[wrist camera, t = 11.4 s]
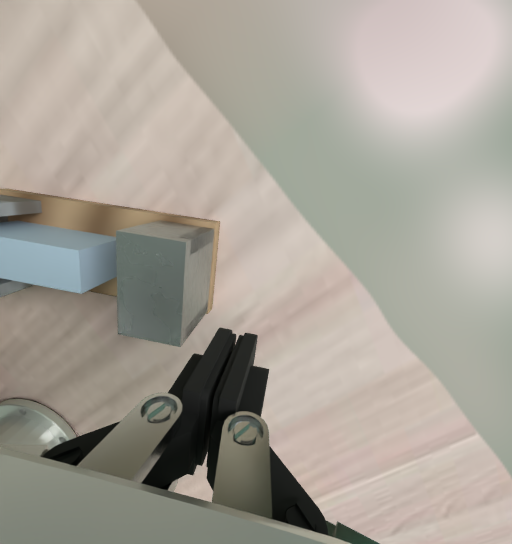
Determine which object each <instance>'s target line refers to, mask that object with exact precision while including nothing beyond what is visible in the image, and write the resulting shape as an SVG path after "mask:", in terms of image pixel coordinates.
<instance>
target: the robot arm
mask: <svg viewBox="0 0 512 544" xmlns="http://www.w3.org/2000/svg"><path fill="white" fill-rule="evenodd" d="M257 336H258V335H255V334H250V333H245V334H244V336H242V335H239V338H238V340H237V342H236V334H232V330H229V329H224V328H219V329H218V331H217V333H216V334H215V336H214V338H213V339H212V341H211V343H210V344H209V346H208V348H207V349H206V351H205V353H204V355H199V354H193V355H192V357H191V358H190V360H189V361H188V363H187V364H186V366H185V367H184V369H183V370H182V372H181V374H180V375H179V377H178V378H177V380H176V381H175V383H174V384H173V386H172V387H171V389H170V390H169V392H168V393H157V394H152V395H150V396H148V397H146V398H145V399H143V400H142V401H141V402H140V403H139V404H138V405H137V406H136V407H135V408H134V409H133V410H132V411H131V412H130V413H129V414H128V415H127V416H126V417H125V418H124V419H123V420H122V421H120V422H117V423H115V424H112V425H109V426H106V427H104V428H101V429H98V430H95V431H93V432H90V433H87V434H84V435H82V436H79V437H76V435H75V433H74V431H73V430H72V429H71V427H70V426H69V425H68V424H67V423H66V422H65V421H64V419H63V418H61V417H60V416H59V415H58V414H56V413H55V412H54V411H52V410H51V409H49V408H47V407H46V406H43V405H41V404H39V403H37V402H33V401H29V400H24V399H9V400H6V401H3V402H1V403H0V544H380V543H378V542H376V541H374V540H372V539H370V538H368V537H366V536H364V535H362V534H360V533H359V532H357V531H355V530H353V529H351V528H349V527H347V526H345V525H343V524H341V523H340V522H338V521H337V524H336V525H334V524H332V523H330V522H328V521H326V520H325V518H324V516H323V515H322V513H321V511H320V510H319V508H318V507H317V506H316V504H315V503H314V502H313V501H312V499H311V498H310V497H309V495H308V494H307V493H306V492H305V490H304V489H303V488H302V487H301V485H300V484H299V483H298V482H297V480H296V479H295V478H294V476H293V475H292V474H291V473H290V471H289V470H288V469H287V468H286V466H285V465H284V464H283V463H282V461H281V460H280V459H279V457H278V456H277V455H276V454H275V452H274V451H273V450H272V449H271V447H270V446H269V430H268V426H267V424H266V423H265V421H264V420H263V419H262V418H261V413H262V407H263V402H264V396H265V390H266V385H267V379H268V373H269V369H266V368H261V367H256V366H253V364H254V357H255V350H256V344H257ZM235 342H236V345H235ZM207 451H208V456H207V467H208V472H207V480H208V482H209V484H210V486H211V488H212V490H213V497H212V503H211V502H208V501H204V500H201V499H197V498H193V497H189V496H186V495H182V494H178V493H175V492H174V490H175V488H176V485H177V483H178V479H179V478H181V477H182V476H184V475H186V474H190V475H193V474H194V472H195V469H196V466H197V465H201V466H202V465H203V462H204V460H205V457H206V454H207Z"/></svg>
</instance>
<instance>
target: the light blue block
mask: <svg viewBox="0 0 512 544" xmlns="http://www.w3.org/2000/svg"><path fill="white" fill-rule="evenodd" d="M115 277H117V259H116V237H112V236H106V235H100V234H95V233H89V232H83V231H77V230H71V229H65V228H59V227H53V226H47V225H41V224H35V223H29V222H23V221H10V222H1V223H0V278H3V279H8V280H13V281H18V282H23V283H29V284H34V285H39V286H44V287H49V288H54V289H60V290H65V291H70V292H75V293H80V294H82V293H84V292H86V291H88V290H90V289H92V288H94V287H96V286H98V285H100V284H103V283H105V282H107V281H109V280H111V279H113V278H115Z"/></svg>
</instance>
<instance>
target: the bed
mask: <svg viewBox="0 0 512 544" xmlns="http://www.w3.org/2000/svg"><path fill="white" fill-rule="evenodd" d="M160 220H162V221H168V222H174V223H181V224H187V225H194V226H200V227H206V228H213V229H214V239H213V251H212V263H211V274H210V286H209V298H208V309H207V312H206V314H208V313H209V312H210V311H211V309H212V304H213V293H214V282H215V271H216V260H217V249H218V238H219V227H220V221H213V220H207V219H200V218H194V217H187V216H181V215H174V214H168V213H161V212H155V211H148V210H142V209H135V208H129V207H122V206H116V205H109V204H103V203H96V202H90V201H83V200H77V199H71V198H64V197H58V196H51V195H45V194H38V193H32V192H25V191H19V190H12V189H0V223H1V222H10V221H23V222H29V223H35V224H41V225H47V226H53V227H59V228H65V229H71V230H77V231H83V232H89V233H95V234H100V235H106V236H112V237H116V231H117V230H121V229H125V228H130V227H134V226H138V225H142V224H147V223H151V222H155V221H160ZM32 285H34V284H29V283H23V282H18V281H13V280H8V279H3V278H0V297H2V296H5V295H8V294H10V293H13V292H16V291H19V290H21V289H24V288H27V287H30V286H32ZM88 291H91V292H96V293H101V294H106V295H112V296H117V277H115V278H113V279H111V280H109V281H107V282H105V283H103V284H100V285H98V286H96V287H94V288H92V289H90V290H88Z"/></svg>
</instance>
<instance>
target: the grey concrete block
mask: <svg viewBox="0 0 512 544" xmlns="http://www.w3.org/2000/svg"><path fill="white" fill-rule="evenodd" d="M213 239H214V229H213V228H206V227H200V226H194V225H187V224H181V223H174V222H168V221H162V220H160V221H155V222H151V223H147V224H142V225H138V226H134V227H130V228H125V229H121V230H117V231H116V259H117V308H118V334H120V335H125V336H130V337H135V338H139V339H144V340H149V341H154V342H159V343H164V344H169V345H173V346H178V347H181V345H182V344H183V343H184V341H185V340H186V339H187V337H188V336H189V335H190V333H191V332H192V331H193V329H194V328H195V327H196V326H197V324H198V323H199V322H200V320H201V319H202V318H203V316H204V315H205V314H206V312H207V309H208V298H209V286H210V274H211V263H212V251H213Z"/></svg>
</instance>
